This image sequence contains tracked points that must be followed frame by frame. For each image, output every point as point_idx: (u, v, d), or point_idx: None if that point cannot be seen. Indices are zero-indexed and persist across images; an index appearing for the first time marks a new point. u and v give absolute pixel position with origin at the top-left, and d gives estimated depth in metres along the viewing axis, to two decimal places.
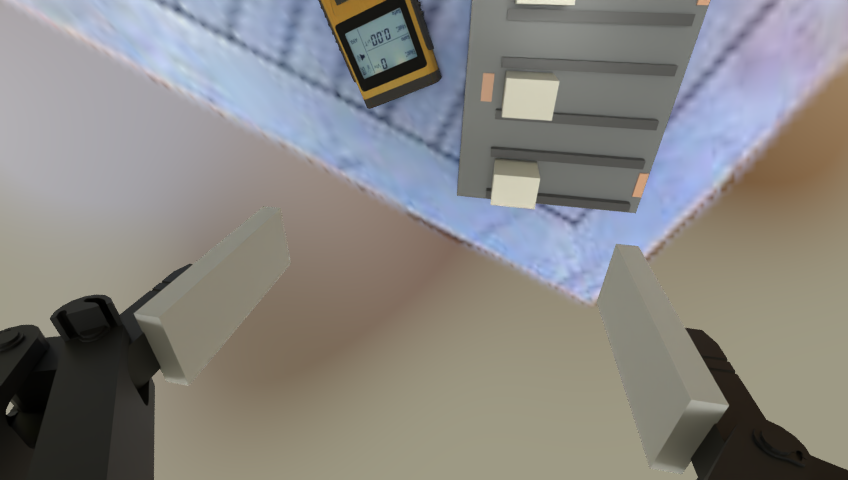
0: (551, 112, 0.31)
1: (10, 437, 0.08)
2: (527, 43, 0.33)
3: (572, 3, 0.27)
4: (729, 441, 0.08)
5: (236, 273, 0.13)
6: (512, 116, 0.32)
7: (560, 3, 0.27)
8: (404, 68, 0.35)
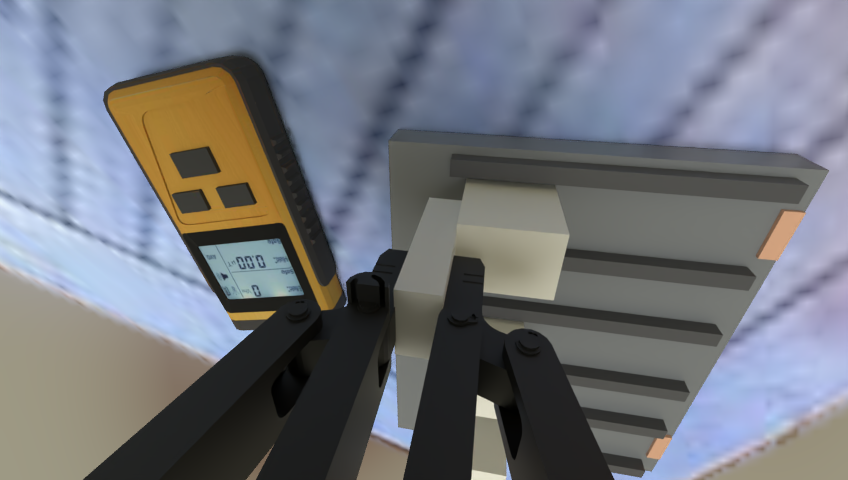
0: None
1: (268, 405, 0.09)
2: None
3: (549, 298, 0.15)
4: (435, 331, 0.10)
5: None
6: None
7: (528, 296, 0.15)
8: (284, 302, 0.24)
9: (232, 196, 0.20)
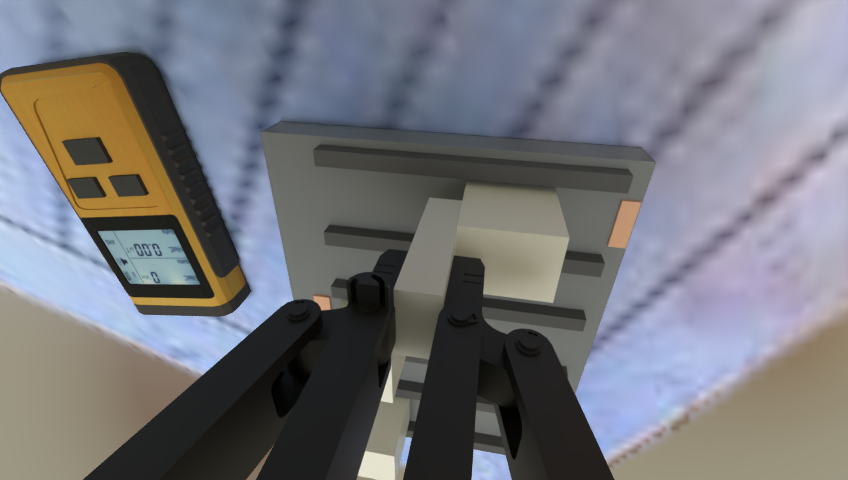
0: (389, 394, 0.20)
1: (268, 405, 0.09)
2: (367, 267, 0.22)
3: (549, 300, 0.15)
4: (435, 331, 0.10)
5: None
6: None
7: (528, 298, 0.15)
8: (182, 291, 0.25)
9: (124, 186, 0.21)
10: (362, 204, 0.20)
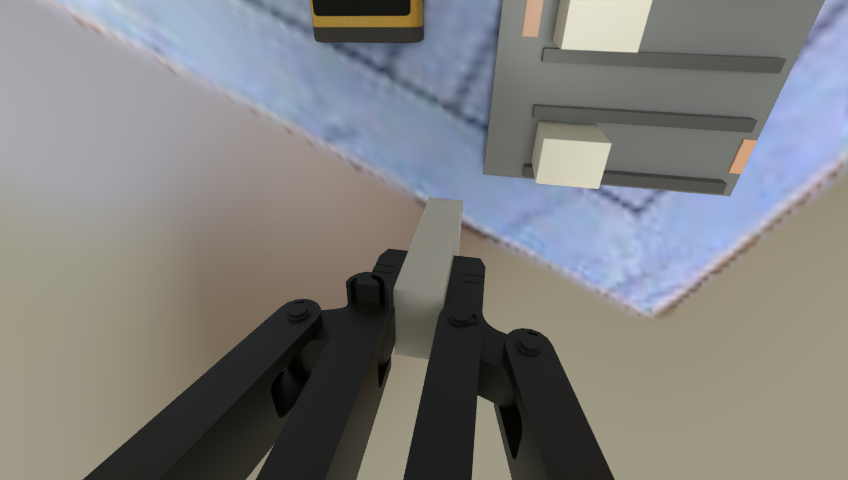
0: (638, 39, 0.20)
1: (268, 405, 0.09)
2: None
3: None
4: (435, 331, 0.10)
5: None
6: (577, 47, 0.21)
7: None
8: (378, 5, 0.25)
9: None
10: None
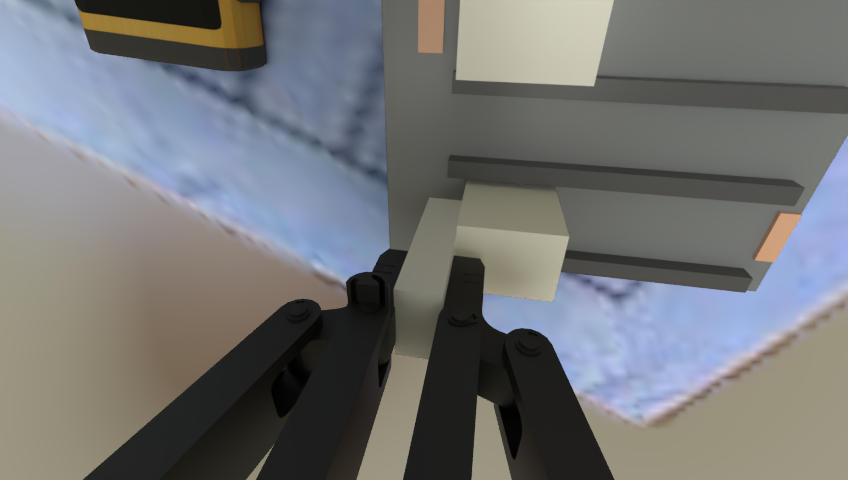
0: (594, 61, 0.11)
1: (268, 405, 0.09)
2: None
3: None
4: (435, 331, 0.10)
5: None
6: (484, 76, 0.11)
7: None
8: (170, 8, 0.16)
9: None
10: None
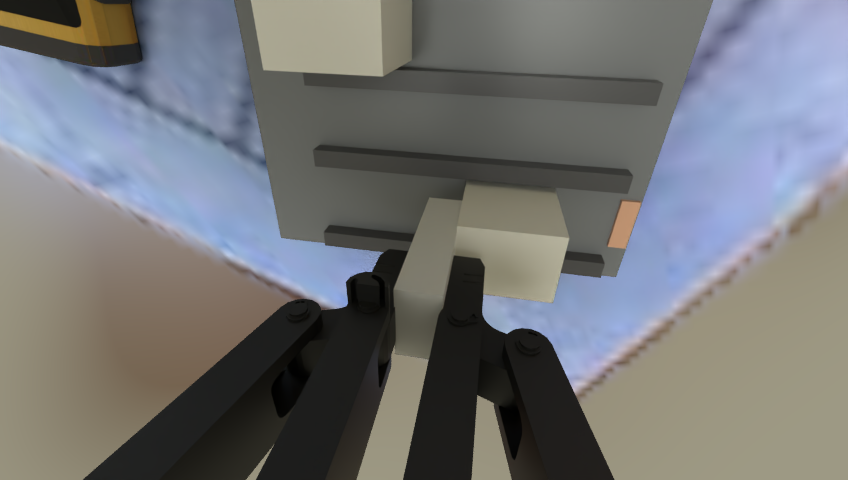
0: (377, 53, 0.12)
1: (268, 405, 0.09)
2: None
3: None
4: (435, 331, 0.10)
5: None
6: (287, 67, 0.12)
7: None
8: (31, 3, 0.17)
9: None
10: None
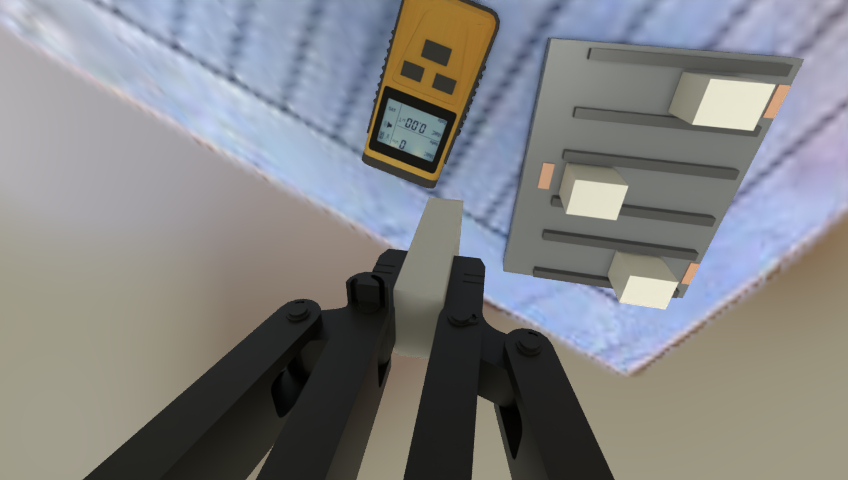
0: (616, 213, 0.31)
1: (268, 405, 0.09)
2: (590, 139, 0.33)
3: (751, 129, 0.27)
4: (435, 331, 0.10)
5: None
6: (576, 213, 0.32)
7: (738, 128, 0.27)
8: (415, 160, 0.36)
9: (442, 83, 0.32)
10: (604, 90, 0.31)
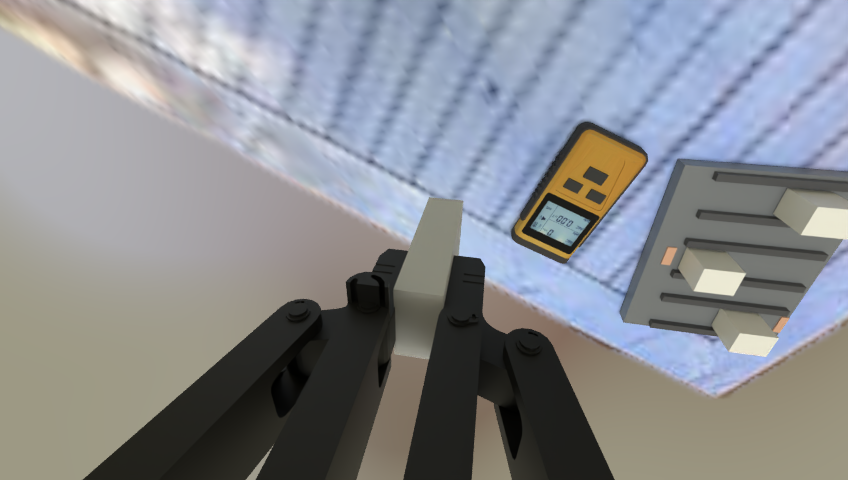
0: (734, 291, 0.41)
1: (268, 405, 0.09)
2: (708, 231, 0.43)
3: (846, 238, 0.37)
4: (435, 331, 0.10)
5: None
6: (702, 291, 0.42)
7: (836, 237, 0.37)
8: (557, 244, 0.47)
9: (594, 196, 0.43)
10: (723, 199, 0.41)
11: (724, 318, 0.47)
